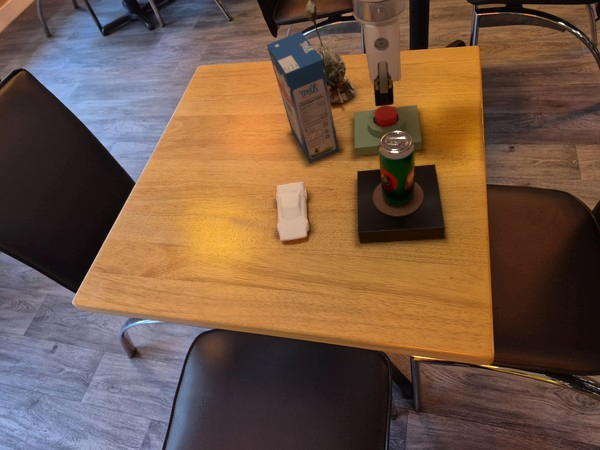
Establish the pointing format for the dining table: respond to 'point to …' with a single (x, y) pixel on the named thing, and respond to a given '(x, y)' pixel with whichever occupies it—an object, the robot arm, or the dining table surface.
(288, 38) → the milk carton
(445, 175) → the dining table surface
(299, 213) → the toy car
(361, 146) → the button box
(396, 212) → the stand
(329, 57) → the plant with pod
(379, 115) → the red button
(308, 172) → the dining table surface
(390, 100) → the robot arm
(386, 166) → the soda can
